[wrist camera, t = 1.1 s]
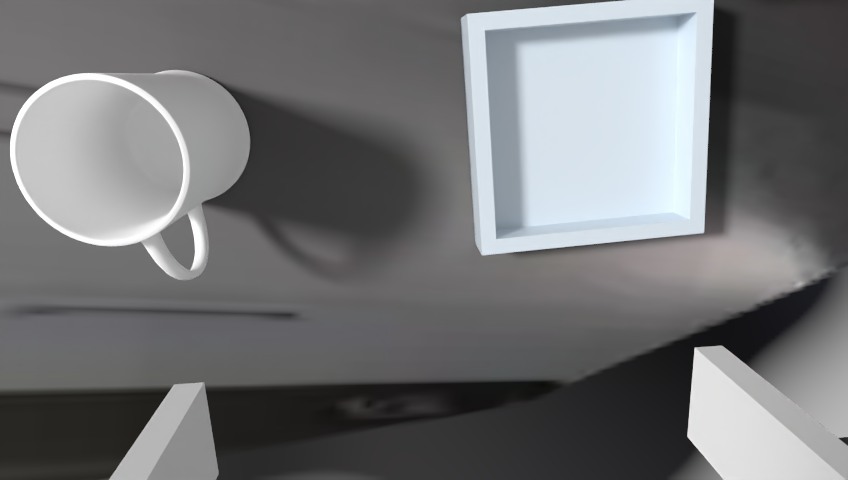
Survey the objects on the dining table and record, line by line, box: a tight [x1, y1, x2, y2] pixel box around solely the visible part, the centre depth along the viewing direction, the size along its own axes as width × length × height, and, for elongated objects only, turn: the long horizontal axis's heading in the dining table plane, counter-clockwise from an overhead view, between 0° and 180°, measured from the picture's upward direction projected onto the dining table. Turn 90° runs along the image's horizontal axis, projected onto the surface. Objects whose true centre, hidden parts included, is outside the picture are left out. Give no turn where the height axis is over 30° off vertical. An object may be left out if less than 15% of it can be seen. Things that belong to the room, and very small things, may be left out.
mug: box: [10, 70, 250, 280], centre depth 34 cm, size 12×8×12 cm
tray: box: [461, 0, 714, 255], centre depth 39 cm, size 15×15×3 cm
